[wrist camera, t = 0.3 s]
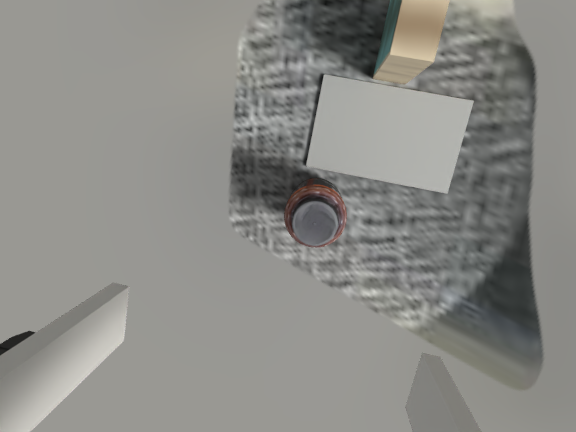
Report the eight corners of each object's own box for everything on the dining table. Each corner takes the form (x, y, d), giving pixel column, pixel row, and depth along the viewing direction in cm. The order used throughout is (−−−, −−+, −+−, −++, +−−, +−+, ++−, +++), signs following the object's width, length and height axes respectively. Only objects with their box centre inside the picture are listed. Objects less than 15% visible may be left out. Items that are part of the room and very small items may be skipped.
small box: (390, -2, 36) (415, -59, 26) (424, 3, 36) (462, -51, 26) (372, 78, 38) (389, 54, 28) (405, 84, 37) (433, 62, 28)
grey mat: (323, 75, 38) (323, 74, 38) (472, 101, 37) (473, 100, 37) (306, 165, 40) (306, 166, 40) (446, 193, 39) (447, 193, 39)
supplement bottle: (285, 220, 42) (272, 247, 30) (297, 172, 40) (288, 181, 29) (334, 233, 41) (338, 264, 30) (348, 184, 40) (357, 198, 29)
